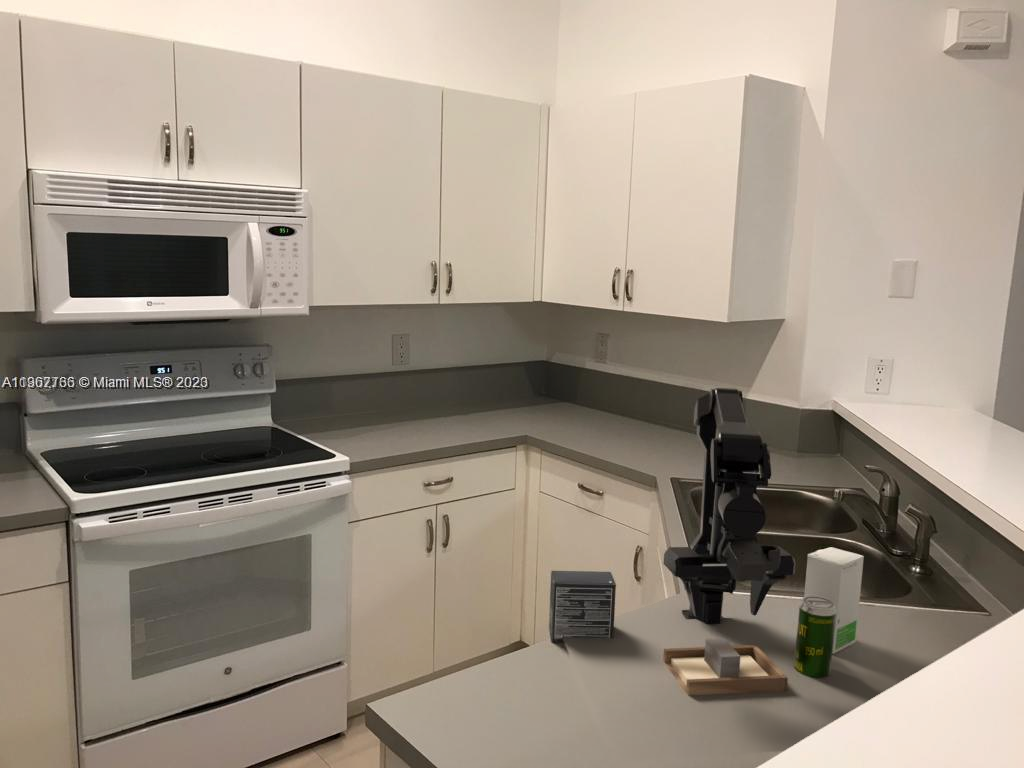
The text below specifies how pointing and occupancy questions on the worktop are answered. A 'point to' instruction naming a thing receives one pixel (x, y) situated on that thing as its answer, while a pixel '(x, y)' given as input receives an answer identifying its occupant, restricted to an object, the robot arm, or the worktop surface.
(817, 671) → the beer can
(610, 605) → the small box
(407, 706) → the worktop surface
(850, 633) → the skincare box
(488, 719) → the worktop surface
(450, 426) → the worktop surface
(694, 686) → the walnut tray
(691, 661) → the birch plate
